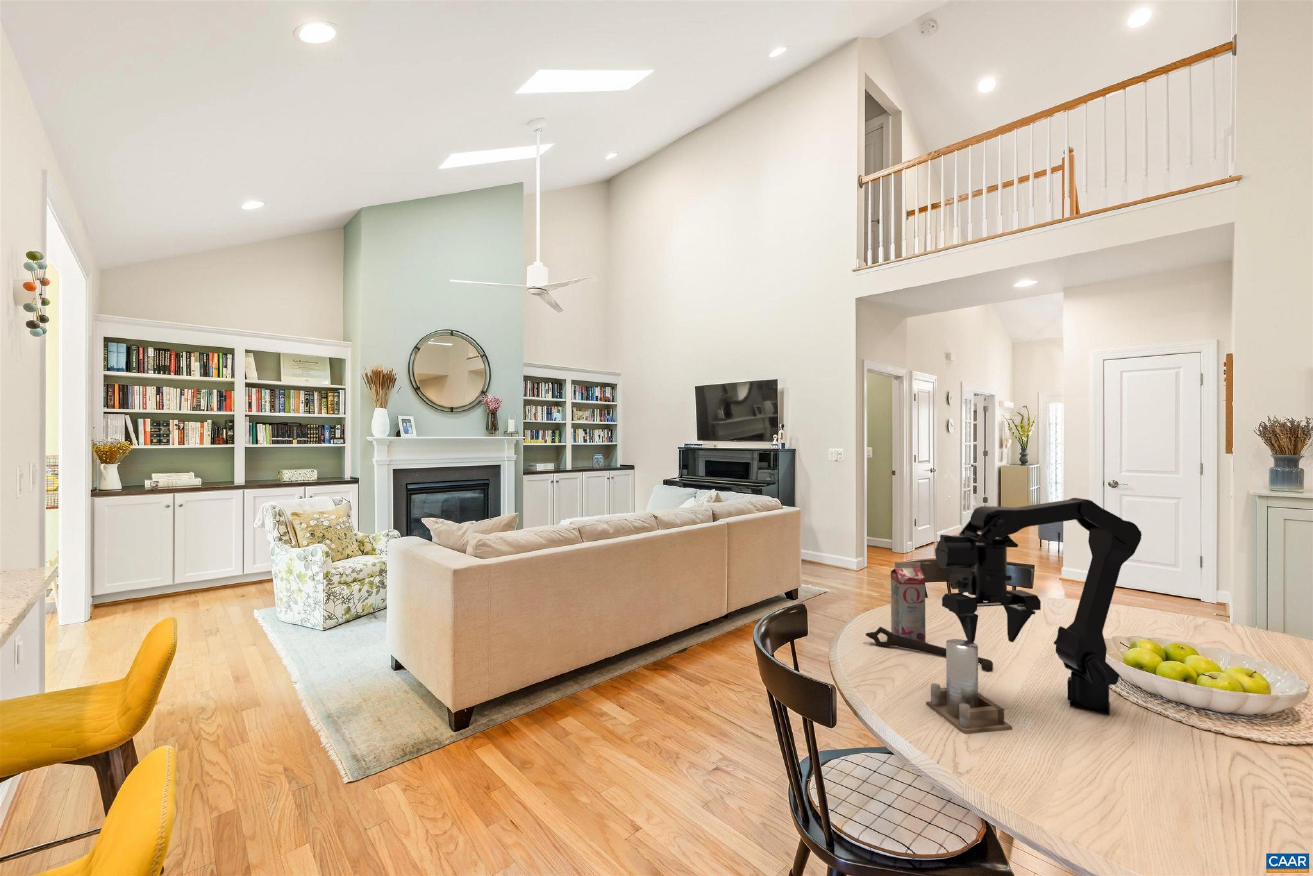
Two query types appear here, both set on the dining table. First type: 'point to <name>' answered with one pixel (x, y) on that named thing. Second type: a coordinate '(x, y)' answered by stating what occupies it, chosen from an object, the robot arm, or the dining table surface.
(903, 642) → the wrench
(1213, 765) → the dining table surface
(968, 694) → the grey cylinder
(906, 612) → the juice carton
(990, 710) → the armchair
